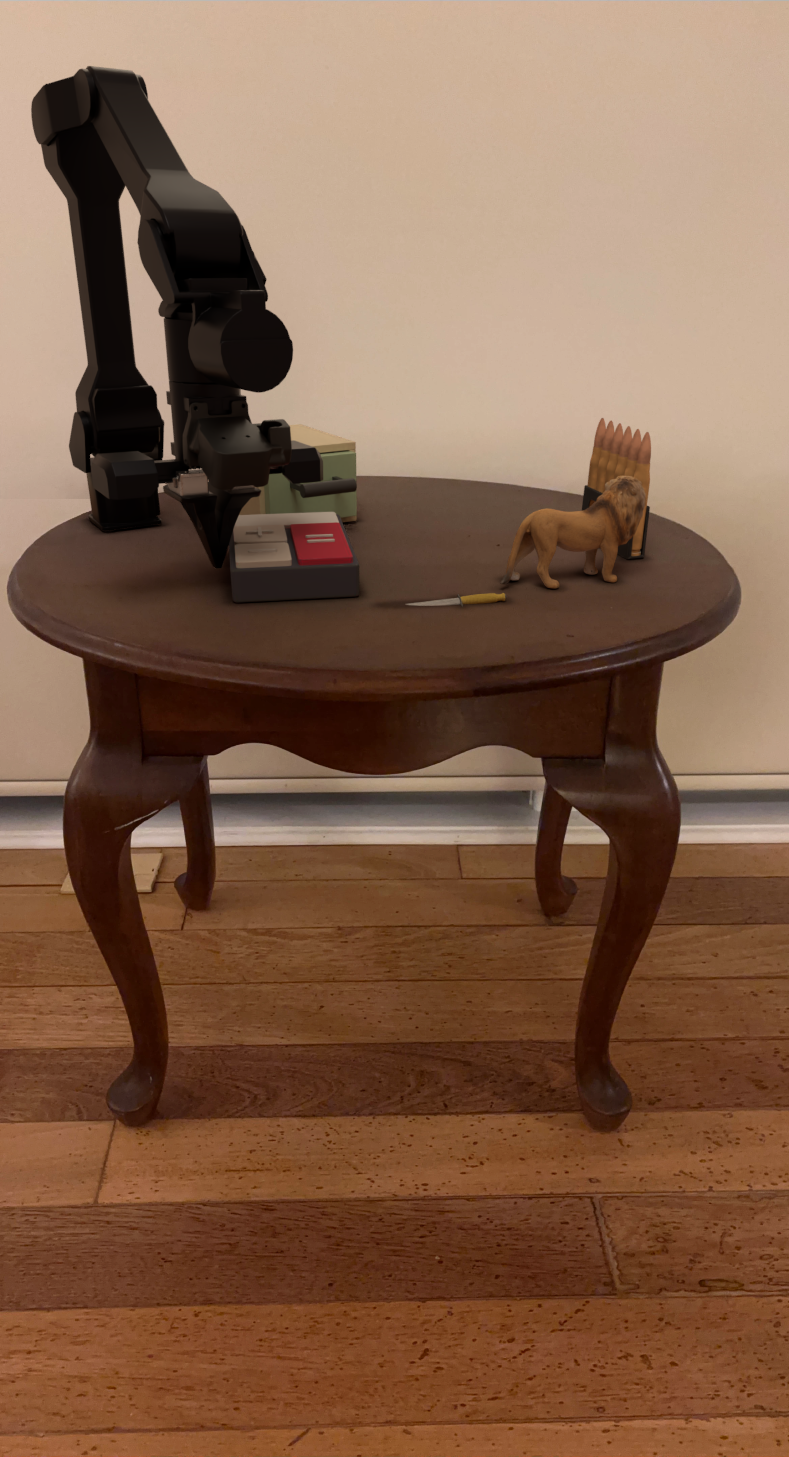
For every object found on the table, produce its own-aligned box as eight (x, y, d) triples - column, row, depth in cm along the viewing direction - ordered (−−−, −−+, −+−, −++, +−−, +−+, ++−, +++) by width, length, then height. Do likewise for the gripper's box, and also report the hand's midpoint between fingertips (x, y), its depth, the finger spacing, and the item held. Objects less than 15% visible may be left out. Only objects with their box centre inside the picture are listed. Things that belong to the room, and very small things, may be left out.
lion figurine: (614, 562, 90) (625, 468, 86) (650, 577, 86) (664, 479, 82) (485, 582, 85) (490, 482, 81) (517, 599, 80) (524, 495, 76)
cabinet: (356, 520, 104) (355, 441, 100) (261, 534, 99) (256, 451, 95) (303, 496, 114) (300, 423, 111) (214, 507, 109) (208, 431, 105)
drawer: (375, 523, 99) (375, 459, 96) (287, 536, 95) (284, 468, 91) (307, 493, 112) (305, 434, 109) (226, 503, 107) (221, 442, 104)
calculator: (229, 561, 77) (226, 509, 90) (233, 610, 79) (229, 552, 92) (360, 556, 79) (339, 505, 92) (360, 603, 81) (339, 547, 94)
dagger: (385, 610, 78) (382, 597, 79) (385, 619, 78) (382, 606, 80) (509, 598, 79) (503, 586, 80) (508, 607, 80) (502, 595, 81)
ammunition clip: (644, 558, 92) (661, 432, 86) (628, 559, 91) (644, 433, 86) (593, 531, 101) (606, 415, 95) (578, 532, 100) (589, 416, 95)
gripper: (116, 395, 65) (139, 608, 71) (352, 385, 73) (353, 577, 80) (78, 380, 73) (102, 572, 80) (293, 373, 82) (298, 547, 89)
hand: (217, 567), depth 82 cm, fingers closed
